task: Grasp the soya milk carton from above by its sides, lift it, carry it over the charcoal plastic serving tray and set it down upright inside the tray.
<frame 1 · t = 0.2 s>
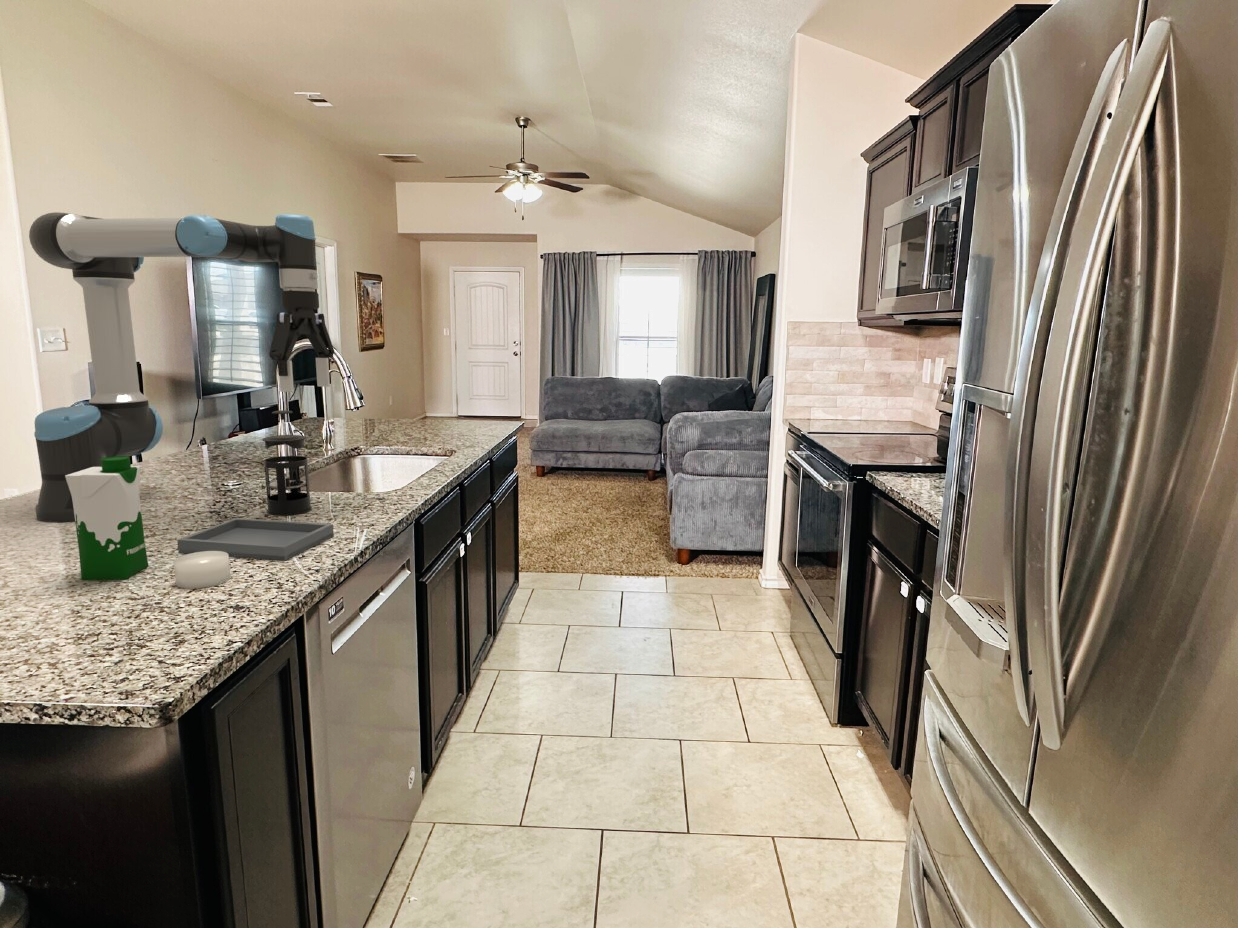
hand: (306, 389, 164), 28 cm above the countertop, fingers open, 13 cm apart
soya milk: (115, 573, 127), on the countertop
cream glossy pebble: (203, 580, 124), on the countertop
french press: (290, 510, 170), on the countertop
tray: (259, 544, 144), on the countertop
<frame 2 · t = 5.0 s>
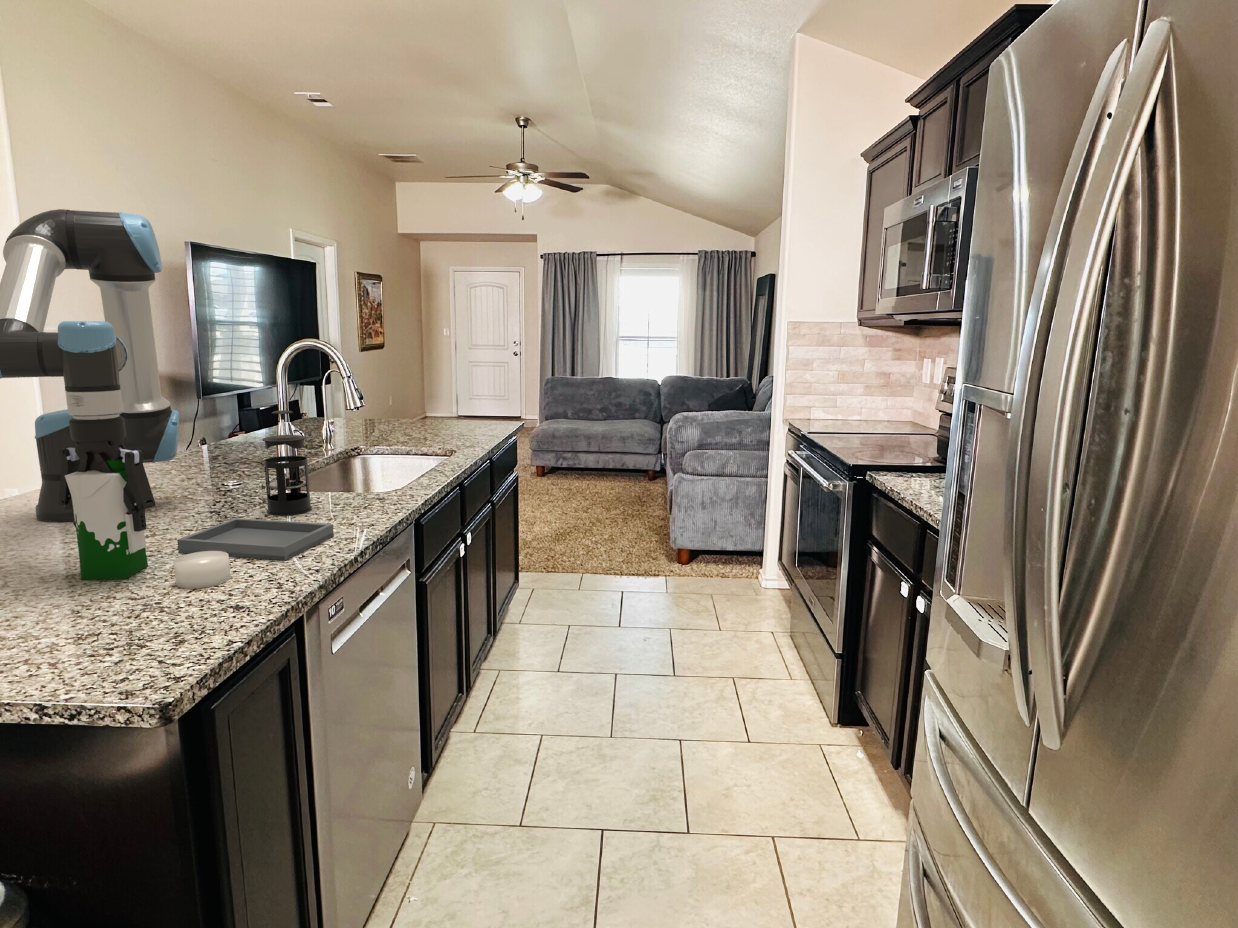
hand: (112, 547, 126), 5 cm above the countertop, fingers closed on soya milk, 9 cm apart
soya milk: (115, 573, 127), on the countertop, touching gripper
everything else where it was.
when the fingers open (7 cm above the countertop, at t = 11.7 s): soya milk drops 1 cm, resting on tray.
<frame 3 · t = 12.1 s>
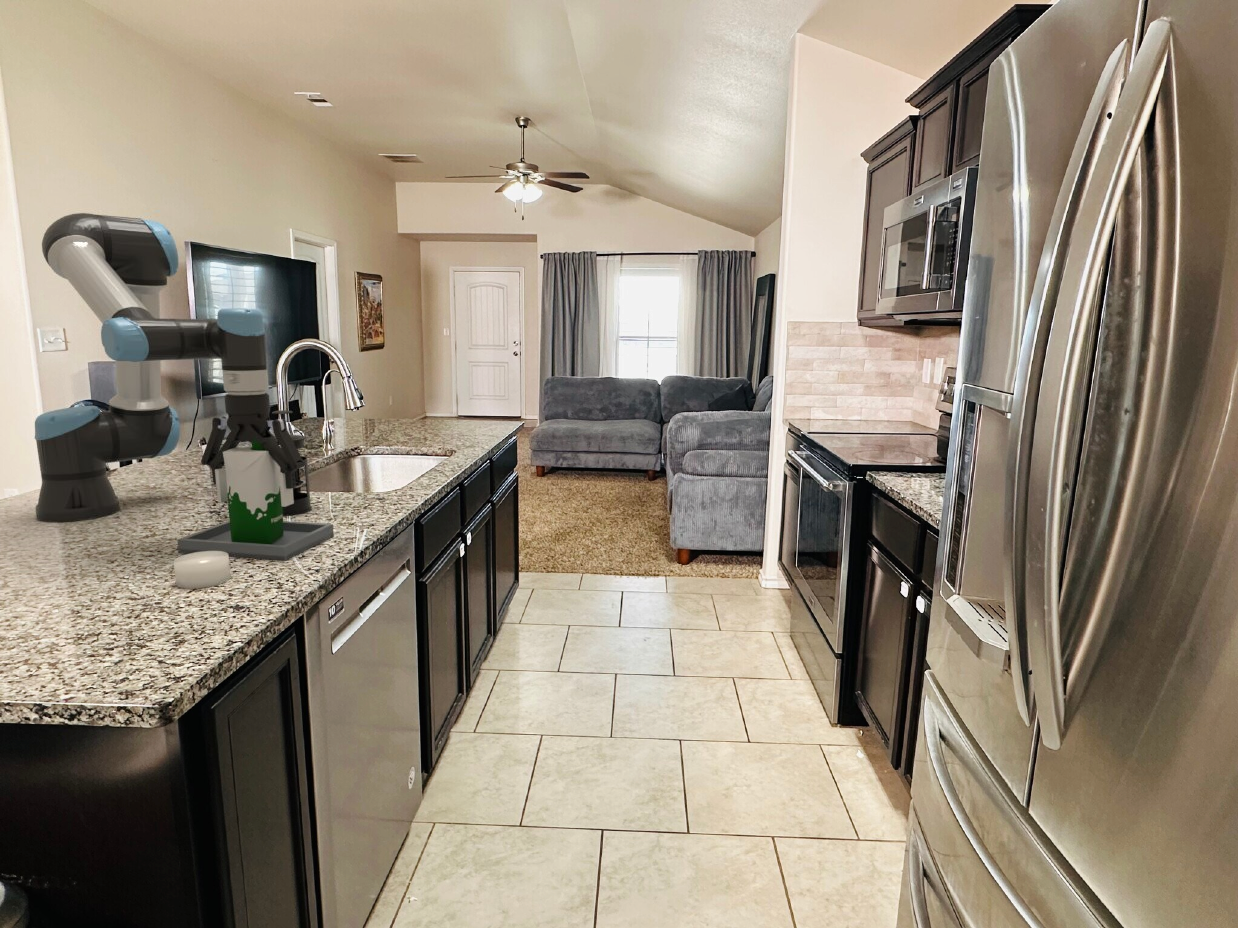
hand: (255, 503, 143), 8 cm above the countertop, fingers open, 13 cm apart
soya milk: (258, 540, 144), point 1 cm above the countertop, touching tray
everything else where it was.
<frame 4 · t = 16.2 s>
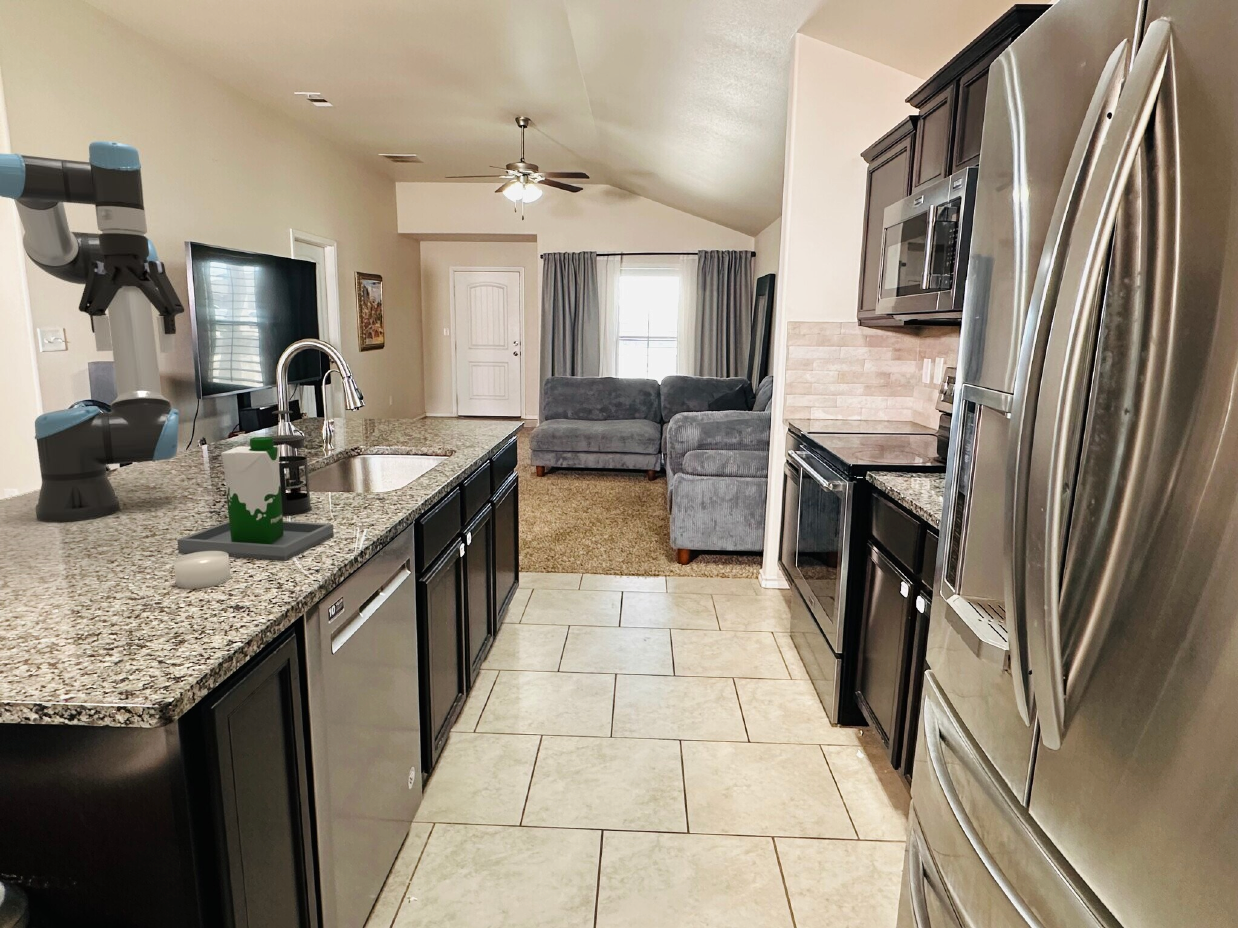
hand: (136, 352, 139), 37 cm above the countertop, fingers open, 13 cm apart
nothing on the countertop moved.
at the end: soya milk inside the target area on the tray (0.2 cm from its centre), point 0.6 cm above the tray's base; soya milk tilted 0°; the gripper is holding nothing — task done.
